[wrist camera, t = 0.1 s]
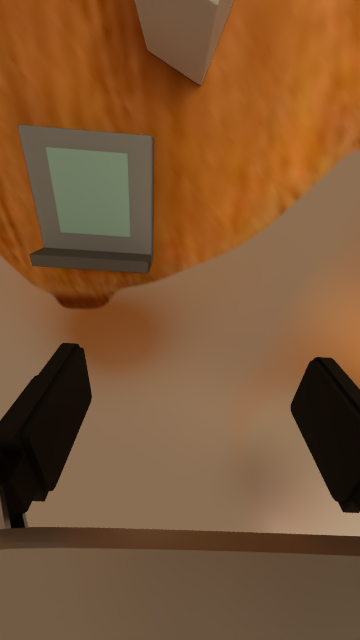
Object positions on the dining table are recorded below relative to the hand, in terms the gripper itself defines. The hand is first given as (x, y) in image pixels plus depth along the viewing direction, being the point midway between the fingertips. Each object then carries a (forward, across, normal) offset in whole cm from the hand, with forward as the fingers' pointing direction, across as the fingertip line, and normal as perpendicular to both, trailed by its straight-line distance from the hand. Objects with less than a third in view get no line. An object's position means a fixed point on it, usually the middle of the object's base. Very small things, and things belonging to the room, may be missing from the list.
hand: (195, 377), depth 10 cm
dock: (+32, +13, -4) cm, 34 cm away
